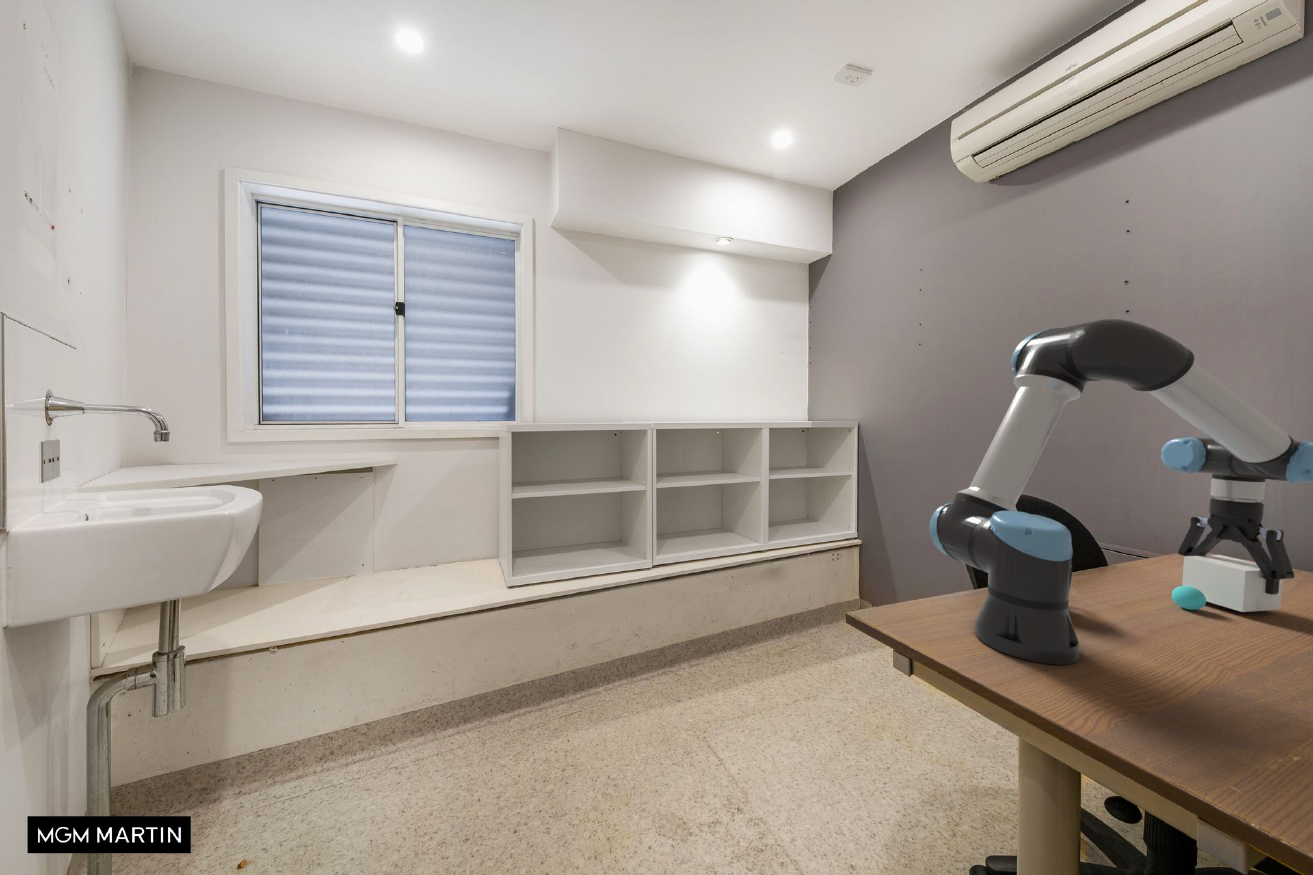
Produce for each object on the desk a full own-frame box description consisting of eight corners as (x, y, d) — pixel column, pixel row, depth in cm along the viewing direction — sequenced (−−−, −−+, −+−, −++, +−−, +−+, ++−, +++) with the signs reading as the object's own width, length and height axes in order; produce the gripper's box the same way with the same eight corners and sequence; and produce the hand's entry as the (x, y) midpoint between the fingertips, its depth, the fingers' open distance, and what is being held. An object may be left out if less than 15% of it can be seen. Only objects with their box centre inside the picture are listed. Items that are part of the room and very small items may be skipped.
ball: (1184, 612, 102) (1186, 589, 101) (1164, 603, 107) (1165, 581, 106) (1212, 614, 101) (1214, 591, 100) (1191, 605, 106) (1192, 583, 105)
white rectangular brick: (1242, 611, 99) (1245, 570, 99) (1181, 593, 109) (1184, 556, 109) (1280, 609, 101) (1283, 569, 101) (1216, 591, 111) (1219, 554, 111)
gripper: (1330, 509, 93) (1320, 618, 95) (1185, 490, 116) (1178, 579, 117) (1300, 509, 92) (1291, 620, 93) (1160, 490, 115) (1154, 580, 116)
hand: (1228, 597), depth 105 cm, fingers closed on white rectangular brick, 10 cm apart
